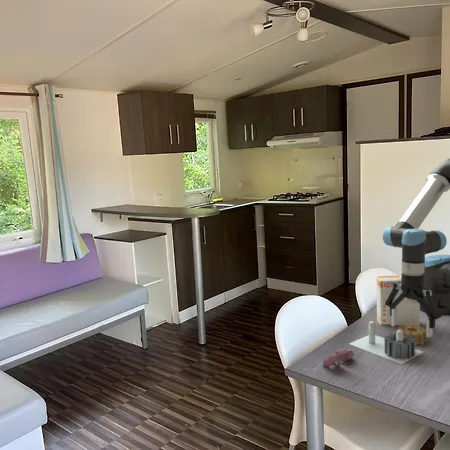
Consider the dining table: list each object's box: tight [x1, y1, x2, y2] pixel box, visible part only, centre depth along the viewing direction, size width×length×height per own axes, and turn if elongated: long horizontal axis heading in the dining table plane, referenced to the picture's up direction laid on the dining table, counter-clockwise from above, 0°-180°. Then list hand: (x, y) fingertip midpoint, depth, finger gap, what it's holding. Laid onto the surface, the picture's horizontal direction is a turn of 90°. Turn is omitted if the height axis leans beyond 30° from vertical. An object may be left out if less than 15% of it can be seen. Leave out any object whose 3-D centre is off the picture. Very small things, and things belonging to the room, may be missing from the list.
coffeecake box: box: [376, 274, 421, 327], centre depth 180 cm, size 15×7×20 cm, turn 84°
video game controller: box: [322, 348, 355, 368], centre depth 151 cm, size 10×5×7 cm, turn 118°
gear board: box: [349, 320, 424, 365], centre depth 158 cm, size 13×21×10 cm, turn 36°
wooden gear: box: [397, 324, 428, 346], centre depth 164 cm, size 10×10×5 cm
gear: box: [383, 332, 416, 360], centre depth 154 cm, size 10×10×5 cm
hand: (411, 330), depth 164 cm, fingers open, 13 cm apart
